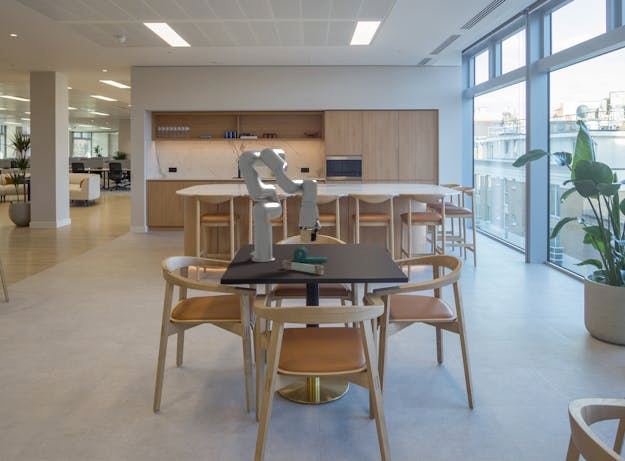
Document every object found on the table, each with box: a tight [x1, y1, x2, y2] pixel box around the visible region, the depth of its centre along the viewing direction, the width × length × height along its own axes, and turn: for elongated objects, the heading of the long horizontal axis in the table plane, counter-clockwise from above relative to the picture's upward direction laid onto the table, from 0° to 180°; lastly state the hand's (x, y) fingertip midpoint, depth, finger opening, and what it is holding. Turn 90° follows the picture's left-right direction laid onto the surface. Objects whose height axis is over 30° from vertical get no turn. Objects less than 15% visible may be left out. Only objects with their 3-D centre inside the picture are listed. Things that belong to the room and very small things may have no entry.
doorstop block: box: [299, 228, 319, 244], centre depth 294 cm, size 5×8×6 cm, turn 140°
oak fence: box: [282, 260, 325, 276], centre depth 285 cm, size 25×2×4 cm, turn 51°
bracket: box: [292, 246, 329, 264], centre depth 313 cm, size 18×7×8 cm, turn 83°
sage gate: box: [290, 261, 316, 274], centre depth 286 cm, size 15×2×4 cm, turn 51°
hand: (309, 240), depth 294 cm, fingers closed on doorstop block, 5 cm apart
